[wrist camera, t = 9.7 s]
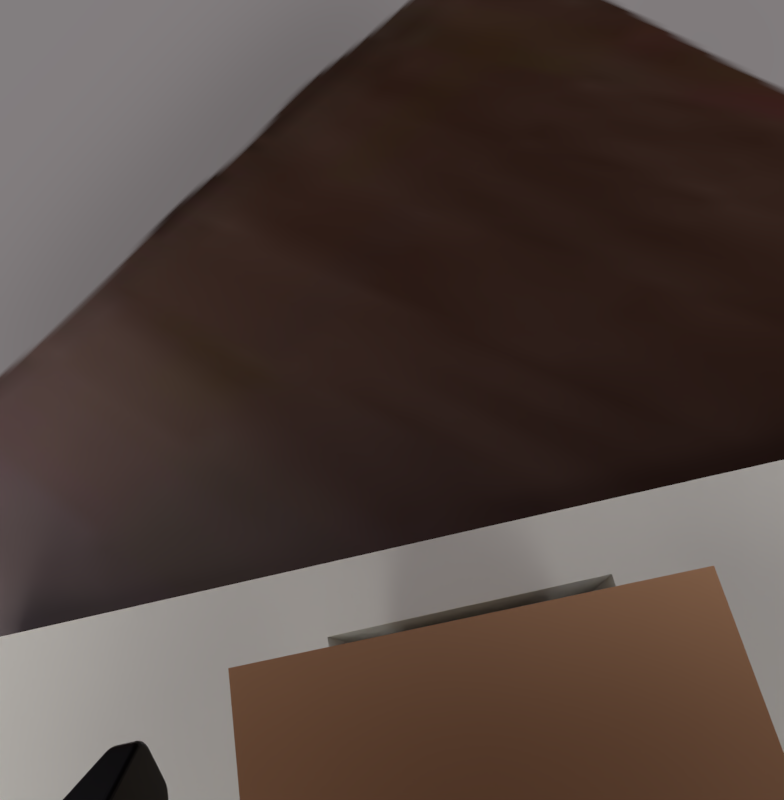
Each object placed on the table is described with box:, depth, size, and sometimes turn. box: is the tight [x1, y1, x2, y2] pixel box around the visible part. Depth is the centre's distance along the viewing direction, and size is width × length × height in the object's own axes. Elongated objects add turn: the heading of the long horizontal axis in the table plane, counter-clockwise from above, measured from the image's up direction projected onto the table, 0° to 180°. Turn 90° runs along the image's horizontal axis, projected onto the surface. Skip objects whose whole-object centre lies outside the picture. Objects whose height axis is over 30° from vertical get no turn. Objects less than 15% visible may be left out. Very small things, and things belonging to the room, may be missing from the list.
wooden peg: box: [228, 566, 784, 800], centre depth 10 cm, size 4×4×12 cm
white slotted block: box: [0, 460, 784, 800], centre depth 14 cm, size 9×24×3 cm, turn 101°
